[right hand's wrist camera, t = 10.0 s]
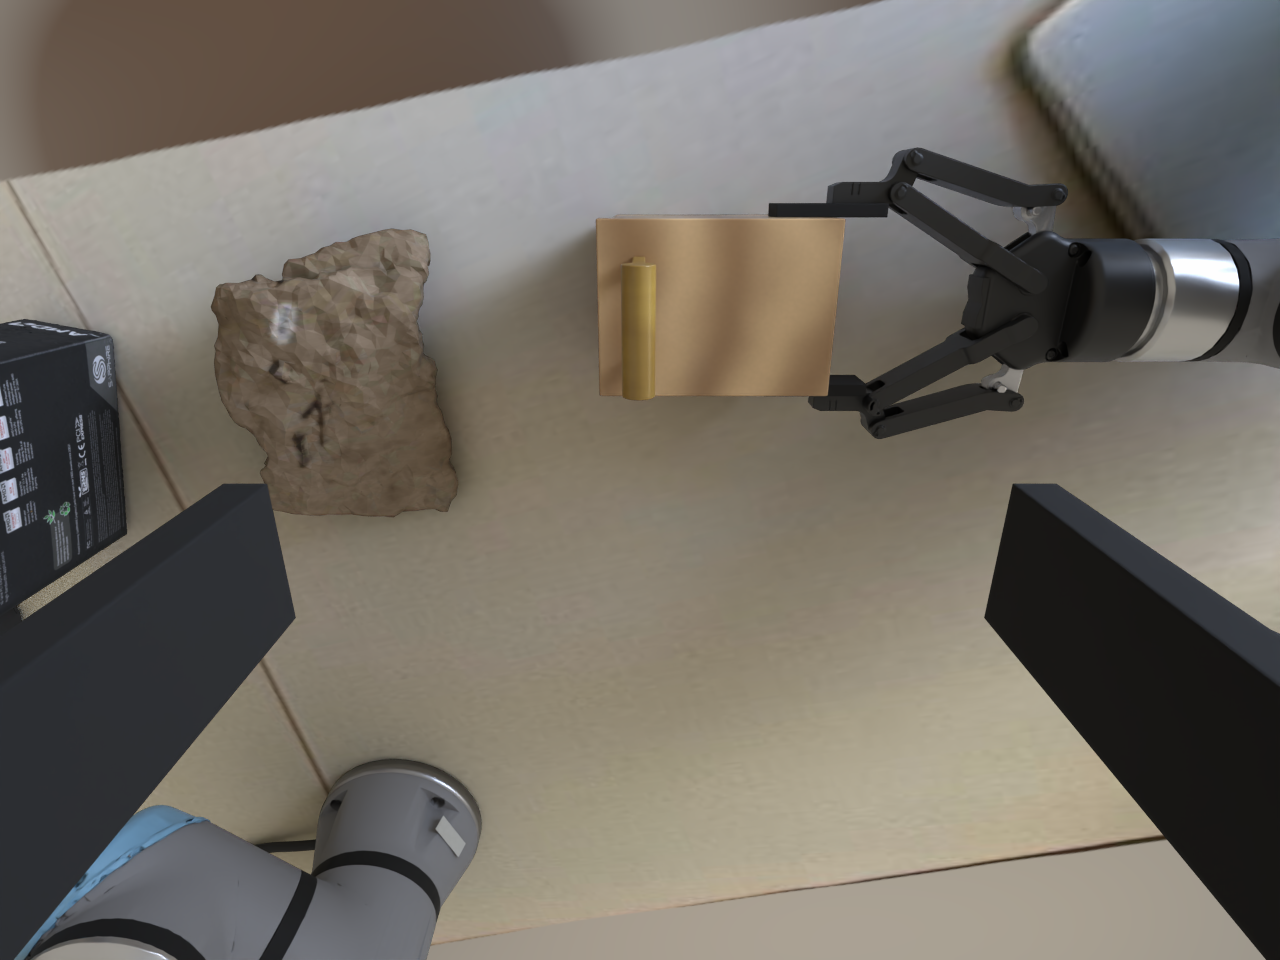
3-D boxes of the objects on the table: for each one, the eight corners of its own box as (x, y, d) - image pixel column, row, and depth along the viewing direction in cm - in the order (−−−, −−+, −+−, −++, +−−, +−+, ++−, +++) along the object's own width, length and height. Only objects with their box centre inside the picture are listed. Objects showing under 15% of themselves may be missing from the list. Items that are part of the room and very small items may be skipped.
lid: (600, 391, 43) (591, 436, 35) (596, 217, 39) (585, 222, 31) (822, 391, 43) (865, 436, 35) (840, 218, 39) (892, 222, 31)
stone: (191, 226, 46) (160, 248, 41) (427, 220, 49) (425, 239, 44) (273, 498, 57) (256, 542, 52) (462, 479, 60) (463, 518, 55)
